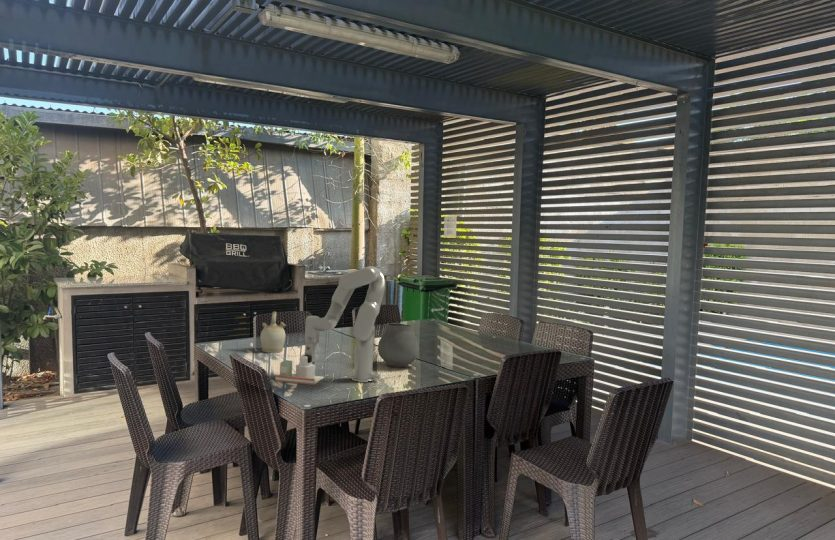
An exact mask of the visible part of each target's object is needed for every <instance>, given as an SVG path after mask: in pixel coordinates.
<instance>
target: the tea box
mask: <svg viewBox="0 0 835 540" xmlns="http://www.w3.org/2000/svg"><path fill="white" fill-rule="evenodd" d="M292 374H293V360H288V359H284V360H282V361H281V362H280V363H279V375H280V376H290V377H292Z"/></svg>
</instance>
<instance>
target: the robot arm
mask: <svg viewBox="0 0 835 540" xmlns="http://www.w3.org/2000/svg"><path fill="white" fill-rule="evenodd" d="M367 285H368V288H367V291H366V296H365V299H364V302H363V303H362V304H361V305H360V306H359V309H358V311H357V312H358V313H357V315H356V319H355V322H354V327H353V330H352V331H353V337H354V338H355V349H354V351H355V352H354V368H353V369H354V370H353V375H352V376H350V380H351V379H352V380H351V381H353V380H354V381H353V382H356V381H358V382H357V383H369V382H368V381H372V382H374V381H375V379H380V377H381V374H380V373H375V371H374V370H373V366H374V365H373V364H374V363H373V362H374V349H375V348H374V347H375V345H374V344H375V334H376V326H375V324H376V319H377V317H378V315H379V314H380V310H381V304H382V303H383V297H384V294H385V290H386V279H385V276H384V274H383V273H382V271H381V270H380V269H379V268H378V267H377V266H373V265H369V266H366V267H363V268H361V269H358V270H354V271H351V272H347V273H345V274H342V275H341V276H340V277H339V280H338V285H337V286H336V287H337V288H336V289H335V290H334V292H333V295H332V297H331V303H330V307H329V308H328V311H327V313H326V315H324V317H320V316H317V315H308V316H306V318H305V326H304V328H305V329H304V330H305V331H304V343H305V346H304V355H310V356H312V364H313V365H316V364H315V363H316V361H317V360H319V358H320V346H319V345H320V344H319V343H320V332H324V333H327V332H330V331H331V330H333V329H334V328H335V327H336V326H337V324H338V322H339V321H340V318H341V317H342V315H343V313H344V311H345V309H346V308H347V307H346V306H347V305H348V303H349V300H350V299H351V296H353V293H354V292H355V289H358V288H361V287H363V286H367ZM373 380H374V381H373Z"/></svg>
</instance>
